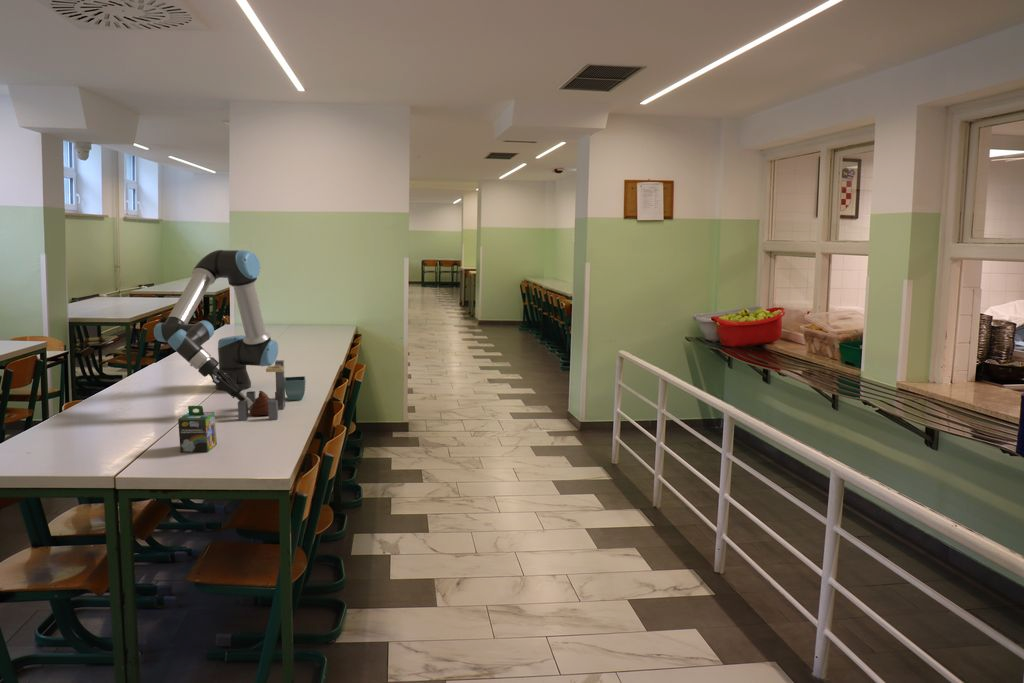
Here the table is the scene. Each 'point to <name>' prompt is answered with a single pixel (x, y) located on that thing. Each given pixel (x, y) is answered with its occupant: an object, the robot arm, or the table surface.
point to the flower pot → (295, 387)
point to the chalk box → (197, 430)
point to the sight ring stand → (278, 375)
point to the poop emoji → (260, 405)
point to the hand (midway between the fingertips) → (250, 405)
